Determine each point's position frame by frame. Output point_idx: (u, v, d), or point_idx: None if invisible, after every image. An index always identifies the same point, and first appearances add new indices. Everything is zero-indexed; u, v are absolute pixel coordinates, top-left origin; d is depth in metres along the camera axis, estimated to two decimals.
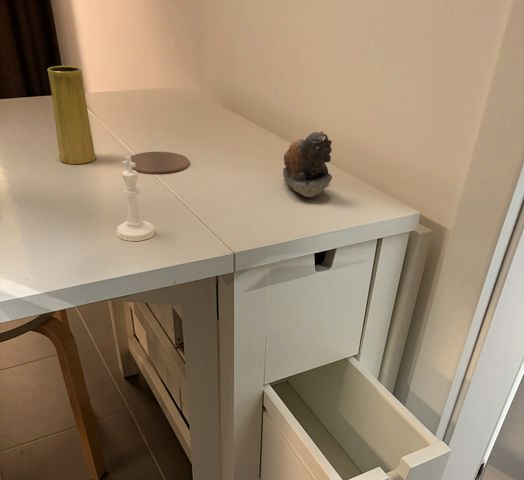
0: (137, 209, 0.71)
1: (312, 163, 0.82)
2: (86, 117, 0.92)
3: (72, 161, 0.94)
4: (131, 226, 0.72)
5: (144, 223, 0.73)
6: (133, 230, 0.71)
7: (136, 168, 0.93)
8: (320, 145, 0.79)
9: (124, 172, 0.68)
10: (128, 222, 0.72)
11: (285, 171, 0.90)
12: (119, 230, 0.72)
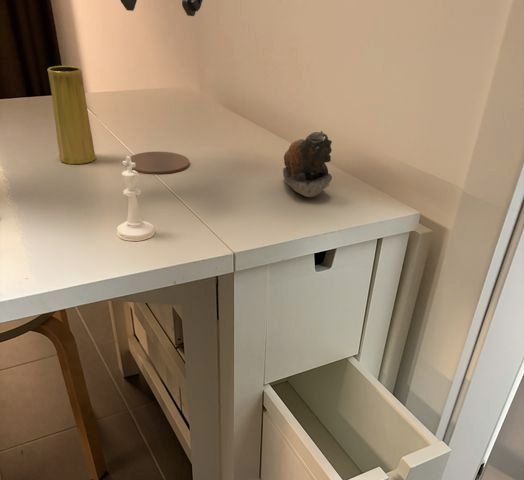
0: (137, 209, 0.71)
1: (312, 163, 0.82)
2: (86, 117, 0.92)
3: (72, 161, 0.94)
4: (131, 226, 0.72)
5: (144, 223, 0.73)
6: (133, 230, 0.71)
7: (136, 168, 0.93)
8: (320, 145, 0.79)
9: (124, 172, 0.68)
10: (128, 222, 0.72)
11: (285, 171, 0.90)
12: (119, 230, 0.72)
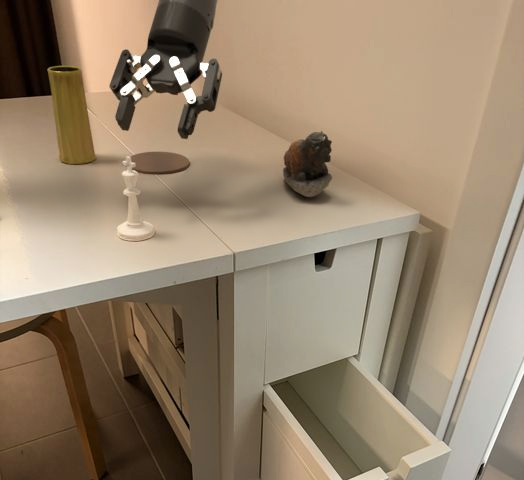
0: (137, 209, 0.71)
1: (312, 163, 0.82)
2: (86, 117, 0.92)
3: (72, 161, 0.94)
4: (131, 226, 0.72)
5: (144, 223, 0.73)
6: (133, 230, 0.71)
7: (136, 168, 0.93)
8: (320, 145, 0.79)
9: (124, 172, 0.68)
10: (128, 222, 0.72)
11: (285, 171, 0.90)
12: (119, 230, 0.72)
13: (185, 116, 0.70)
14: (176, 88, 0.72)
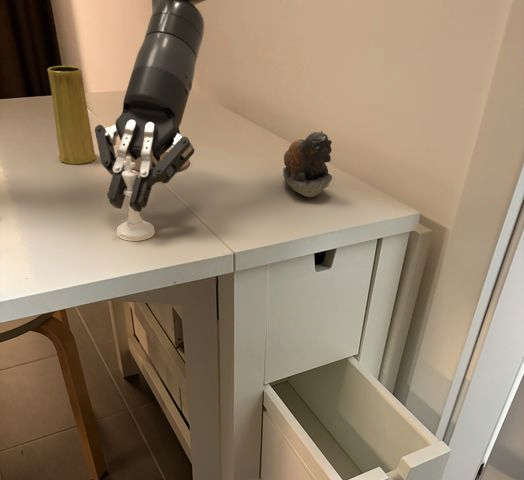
0: None
1: (312, 163, 0.82)
2: (86, 117, 0.92)
3: (72, 161, 0.94)
4: (131, 226, 0.72)
5: (144, 223, 0.73)
6: (133, 230, 0.72)
7: (136, 168, 0.93)
8: (320, 145, 0.79)
9: (124, 172, 0.68)
10: (128, 222, 0.72)
11: (285, 171, 0.90)
12: (119, 230, 0.72)
13: (137, 190, 0.68)
14: (153, 154, 0.69)
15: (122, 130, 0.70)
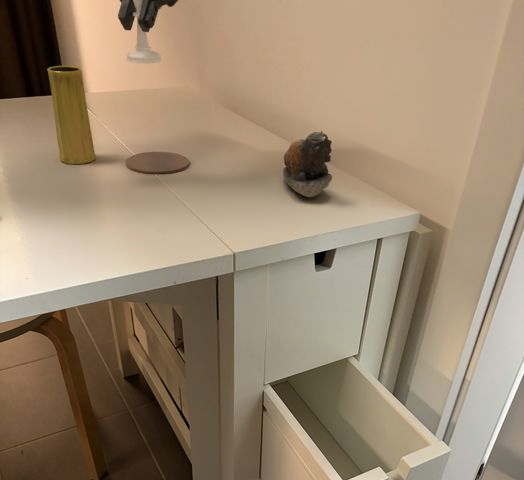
0: (145, 33, 0.77)
1: (312, 163, 0.82)
2: (86, 117, 0.92)
3: (72, 161, 0.94)
4: (139, 50, 0.78)
5: None
6: (141, 53, 0.77)
7: (136, 168, 0.93)
8: (320, 145, 0.79)
9: None
10: (137, 47, 0.78)
11: (285, 171, 0.90)
12: (128, 54, 0.78)
13: (145, 8, 0.74)
14: None
15: None
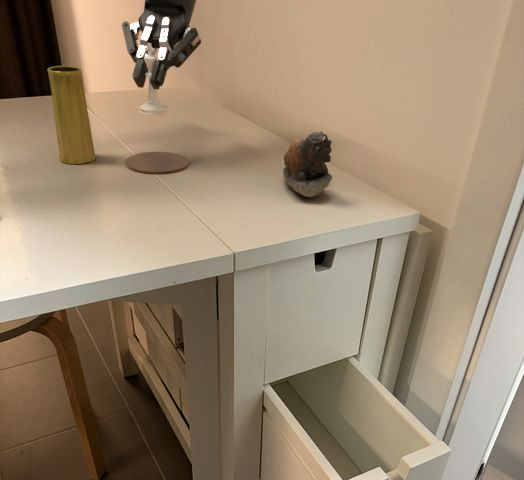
0: (155, 89, 0.89)
1: (312, 163, 0.82)
2: (86, 117, 0.92)
3: (72, 161, 0.94)
4: (150, 104, 0.90)
5: (161, 103, 0.91)
6: (152, 107, 0.90)
7: (136, 168, 0.93)
8: (320, 145, 0.79)
9: (146, 56, 0.86)
10: (148, 100, 0.90)
11: (285, 171, 0.90)
12: (141, 107, 0.90)
13: (156, 70, 0.86)
14: (168, 43, 0.88)
15: (144, 25, 0.88)
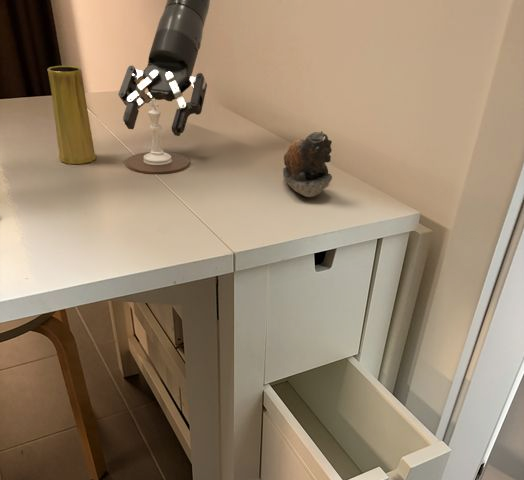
0: (159, 141, 0.94)
1: (312, 163, 0.82)
2: (86, 117, 0.92)
3: (72, 161, 0.94)
4: (154, 154, 0.95)
5: (164, 153, 0.96)
6: (156, 157, 0.94)
7: (136, 168, 0.93)
8: (320, 145, 0.79)
9: (150, 111, 0.91)
10: (152, 151, 0.95)
11: (285, 171, 0.90)
12: (145, 157, 0.95)
13: (177, 118, 0.90)
14: (171, 96, 0.92)
15: None
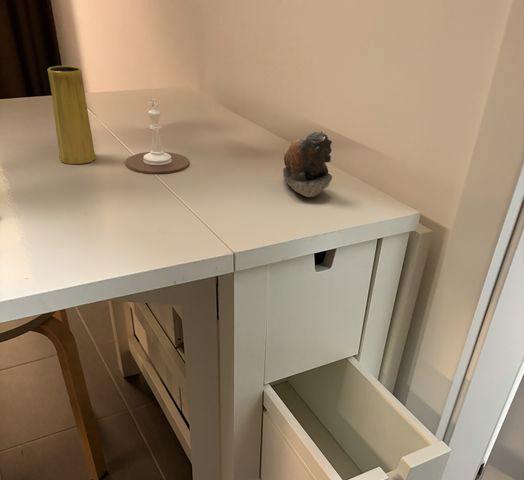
0: (159, 141, 0.94)
1: (312, 163, 0.82)
2: (86, 117, 0.92)
3: (72, 161, 0.94)
4: (154, 154, 0.95)
5: (164, 153, 0.96)
6: (156, 157, 0.94)
7: (136, 168, 0.93)
8: (320, 145, 0.79)
9: (150, 111, 0.91)
10: (152, 151, 0.95)
11: (285, 171, 0.90)
12: (145, 157, 0.95)
13: None
14: None
15: None
